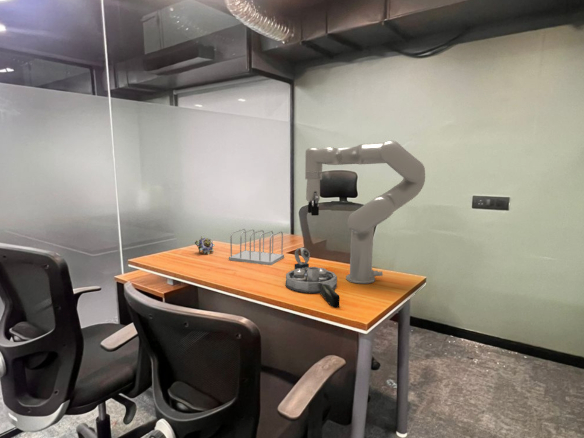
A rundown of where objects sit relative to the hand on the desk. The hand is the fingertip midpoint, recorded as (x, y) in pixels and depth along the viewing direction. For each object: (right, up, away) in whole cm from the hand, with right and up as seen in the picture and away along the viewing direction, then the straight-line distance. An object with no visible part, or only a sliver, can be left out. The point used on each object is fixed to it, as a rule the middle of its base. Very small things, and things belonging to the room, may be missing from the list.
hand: (313, 214), depth 158 cm
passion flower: (-61, -22, +44) cm, 79 cm away
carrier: (-2, -30, -11) cm, 32 cm away
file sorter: (-29, -25, +32) cm, 49 cm away
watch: (-5, -27, +10) cm, 30 cm away
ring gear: (-2, -29, -11) cm, 31 cm away
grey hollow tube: (-1, -30, -17) cm, 34 cm away
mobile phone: (+4, -33, -28) cm, 44 cm away
